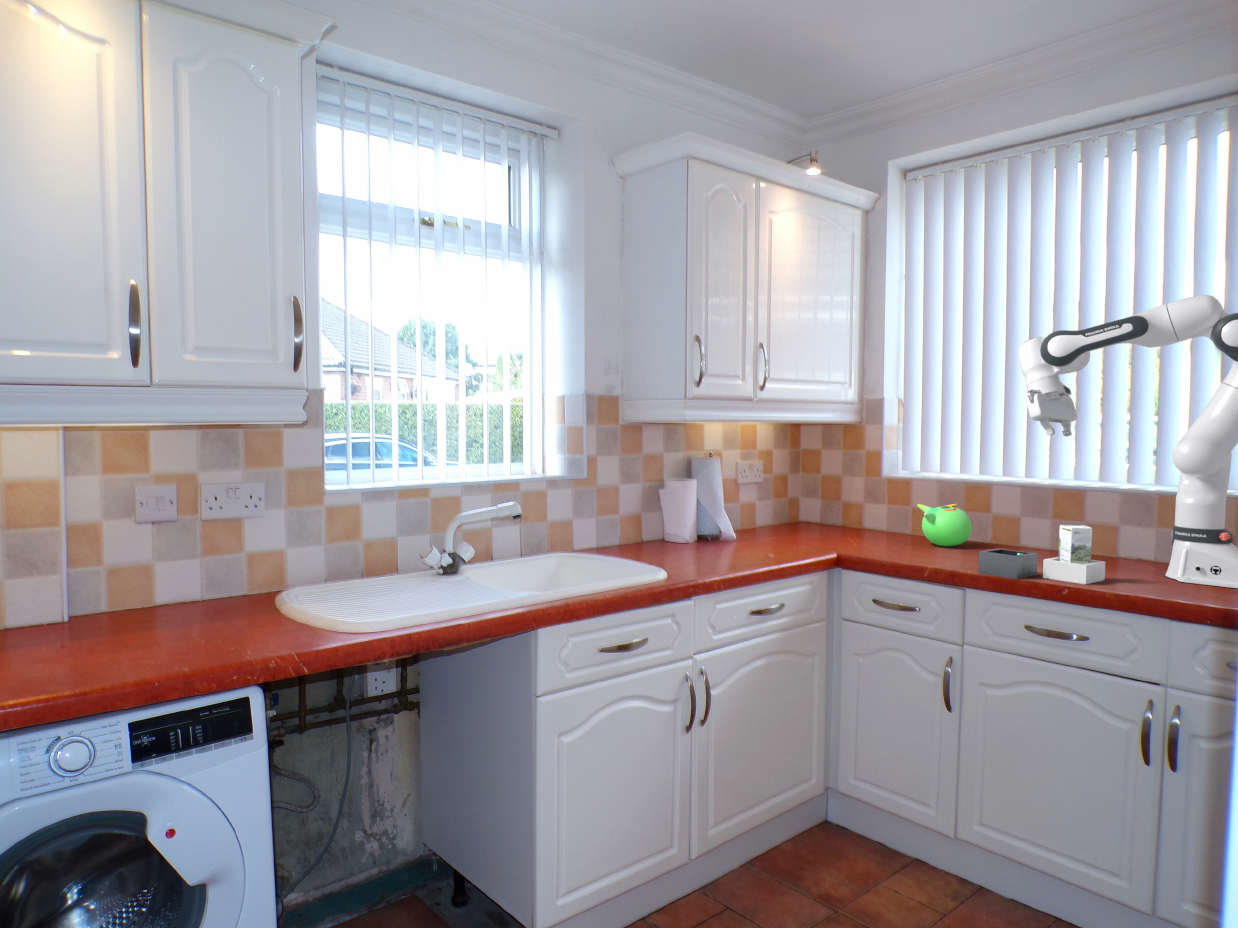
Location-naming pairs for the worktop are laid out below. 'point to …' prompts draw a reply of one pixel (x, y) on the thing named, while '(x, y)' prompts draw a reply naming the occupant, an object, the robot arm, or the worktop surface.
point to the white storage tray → (1074, 571)
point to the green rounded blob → (945, 525)
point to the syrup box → (1075, 544)
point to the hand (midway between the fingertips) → (1059, 435)
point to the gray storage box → (1007, 563)
